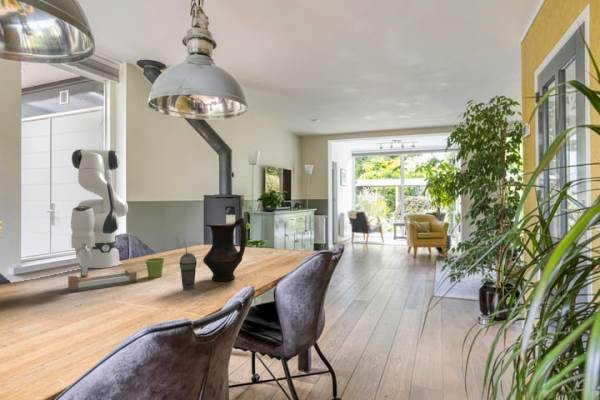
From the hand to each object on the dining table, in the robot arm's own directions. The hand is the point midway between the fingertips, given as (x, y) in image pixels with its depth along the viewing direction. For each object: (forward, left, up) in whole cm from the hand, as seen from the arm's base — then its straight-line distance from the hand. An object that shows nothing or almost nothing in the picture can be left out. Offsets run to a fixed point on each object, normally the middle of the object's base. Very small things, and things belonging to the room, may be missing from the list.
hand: (83, 274), depth 152 cm
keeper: (0, 0, -4) cm, 4 cm away
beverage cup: (+32, +35, -6) cm, 48 cm away
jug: (+26, +55, -6) cm, 62 cm away
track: (0, +7, -6) cm, 10 cm away
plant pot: (-2, +30, -6) cm, 31 cm away
